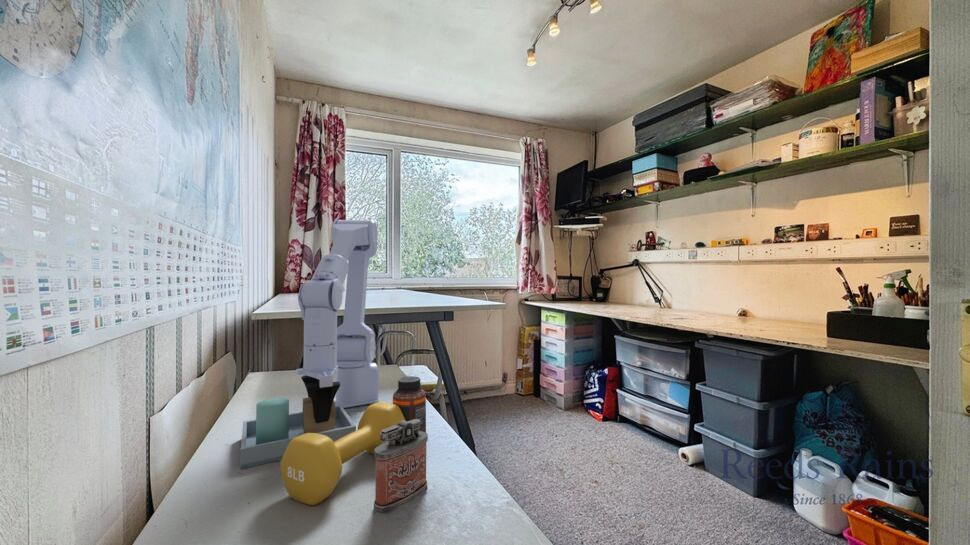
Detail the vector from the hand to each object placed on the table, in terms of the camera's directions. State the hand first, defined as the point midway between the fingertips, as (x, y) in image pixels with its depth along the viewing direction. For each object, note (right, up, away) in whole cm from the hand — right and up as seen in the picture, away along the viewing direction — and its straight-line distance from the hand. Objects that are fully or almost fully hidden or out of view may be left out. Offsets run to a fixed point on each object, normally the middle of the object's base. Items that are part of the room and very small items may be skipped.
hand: (319, 416), depth 69 cm
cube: (0, -2, 0) cm, 2 cm away
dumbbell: (+11, -4, -13) cm, 17 cm away
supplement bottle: (+17, -4, -2) cm, 18 cm away
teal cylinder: (-6, -3, -4) cm, 8 cm away
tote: (-3, -4, -2) cm, 5 cm away
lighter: (+20, -3, -20) cm, 28 cm away
